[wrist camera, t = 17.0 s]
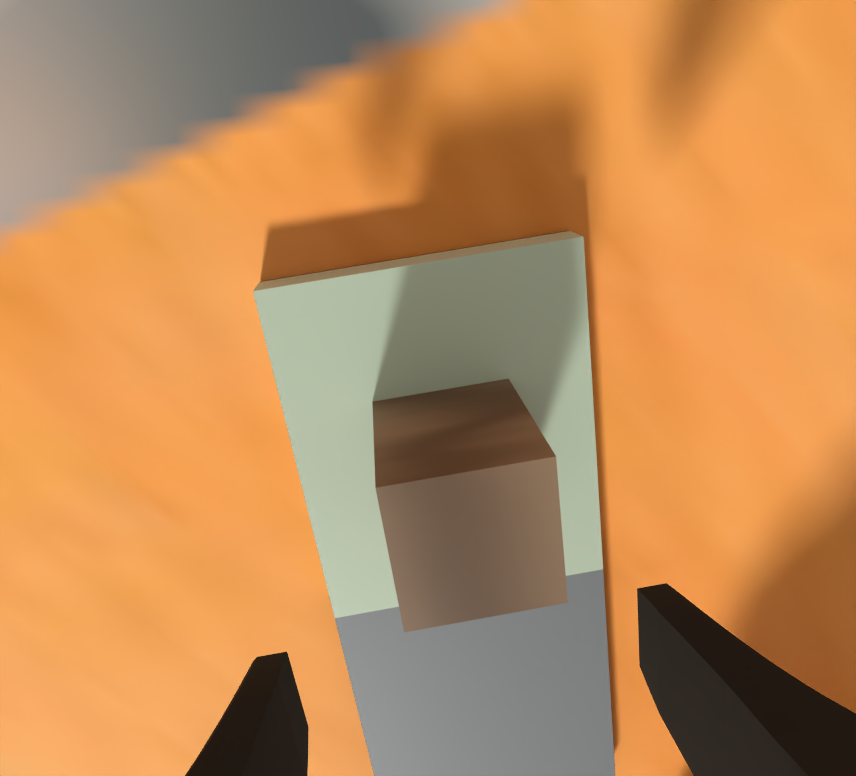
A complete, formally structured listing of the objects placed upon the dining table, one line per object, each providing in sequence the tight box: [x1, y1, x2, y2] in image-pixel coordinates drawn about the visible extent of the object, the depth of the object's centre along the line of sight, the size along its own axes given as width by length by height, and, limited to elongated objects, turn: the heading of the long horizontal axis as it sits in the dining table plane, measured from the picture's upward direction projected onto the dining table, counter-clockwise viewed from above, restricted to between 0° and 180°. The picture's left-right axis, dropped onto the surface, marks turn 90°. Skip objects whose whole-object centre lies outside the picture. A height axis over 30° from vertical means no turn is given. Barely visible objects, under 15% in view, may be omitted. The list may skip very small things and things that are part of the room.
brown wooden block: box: [372, 379, 568, 633], centre depth 17 cm, size 4×4×5 cm
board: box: [253, 231, 615, 776], centre depth 22 cm, size 9×22×1 cm, turn 8°
